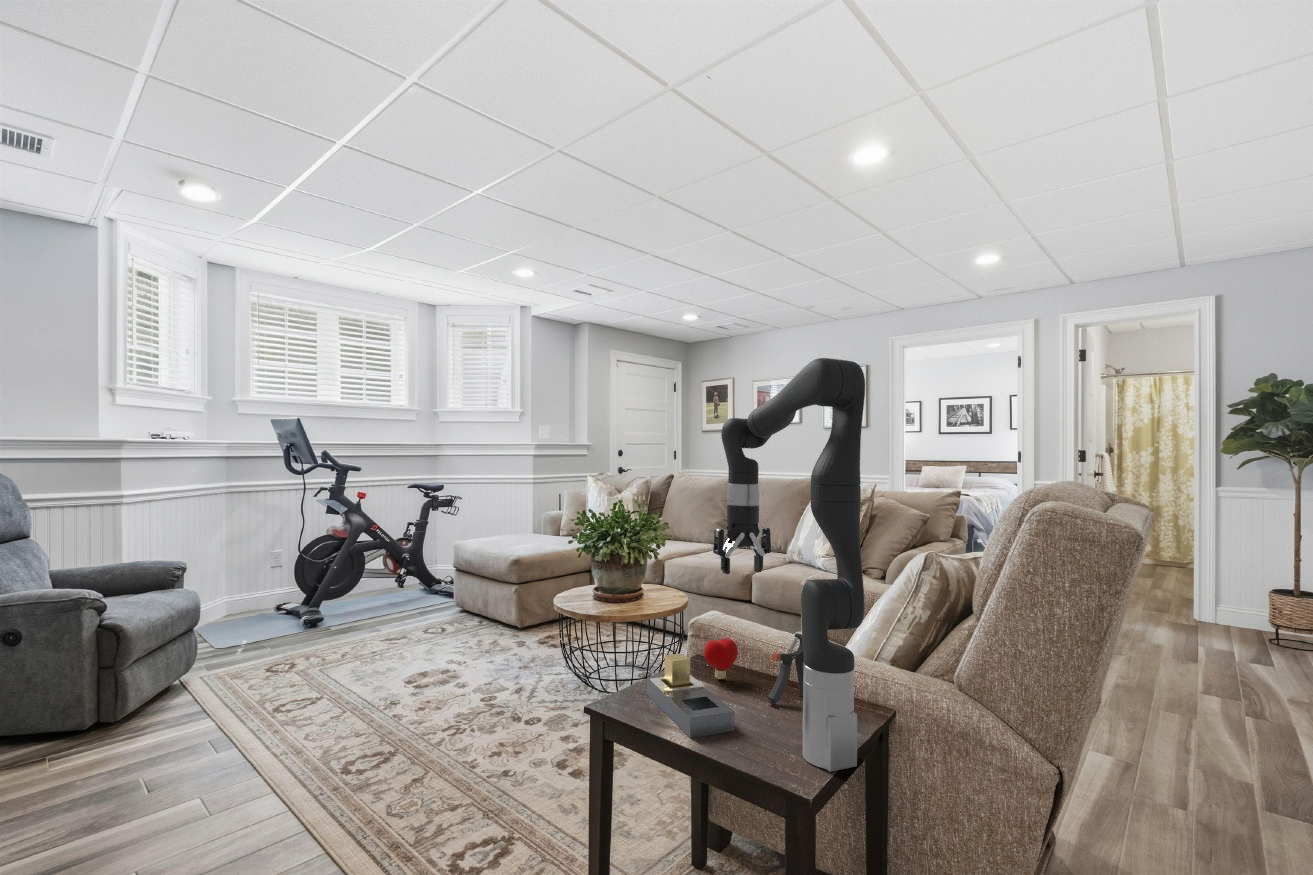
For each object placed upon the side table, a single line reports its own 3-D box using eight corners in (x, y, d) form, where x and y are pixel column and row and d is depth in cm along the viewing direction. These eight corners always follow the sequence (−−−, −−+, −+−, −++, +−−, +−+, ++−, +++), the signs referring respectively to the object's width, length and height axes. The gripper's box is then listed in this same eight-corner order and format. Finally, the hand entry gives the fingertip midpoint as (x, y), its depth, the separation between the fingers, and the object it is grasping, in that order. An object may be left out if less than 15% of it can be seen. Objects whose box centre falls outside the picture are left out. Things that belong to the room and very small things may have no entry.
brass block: (689, 703, 140) (690, 659, 140) (671, 706, 138) (672, 661, 139) (681, 696, 144) (682, 653, 144) (663, 698, 142) (664, 655, 143)
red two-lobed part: (712, 687, 150) (713, 646, 150) (697, 678, 156) (698, 638, 157) (743, 681, 155) (744, 641, 155) (727, 672, 161) (728, 633, 161)
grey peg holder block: (734, 730, 126) (734, 709, 126) (690, 738, 123) (690, 716, 123) (685, 689, 149) (685, 671, 149) (646, 694, 145) (647, 675, 145)
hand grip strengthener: (765, 704, 141) (766, 637, 141) (804, 693, 147) (805, 630, 148) (772, 707, 139) (773, 640, 139) (811, 697, 145) (812, 632, 146)
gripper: (724, 504, 139) (723, 577, 138) (777, 504, 144) (777, 573, 143) (708, 502, 145) (707, 571, 145) (760, 502, 151) (759, 568, 150)
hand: (742, 572), depth 144 cm, fingers open, 8 cm apart
